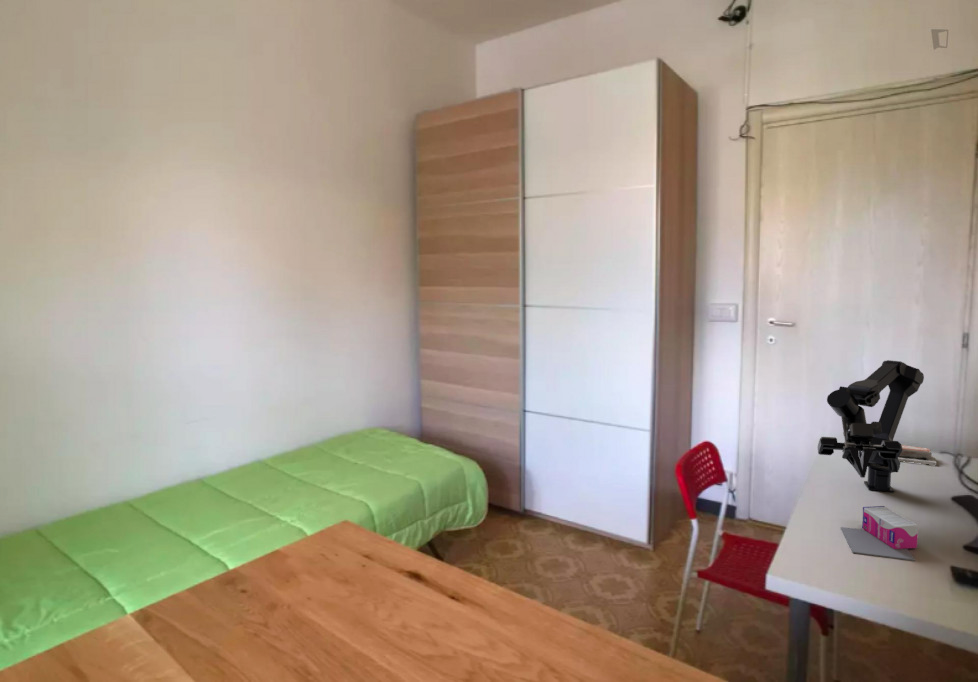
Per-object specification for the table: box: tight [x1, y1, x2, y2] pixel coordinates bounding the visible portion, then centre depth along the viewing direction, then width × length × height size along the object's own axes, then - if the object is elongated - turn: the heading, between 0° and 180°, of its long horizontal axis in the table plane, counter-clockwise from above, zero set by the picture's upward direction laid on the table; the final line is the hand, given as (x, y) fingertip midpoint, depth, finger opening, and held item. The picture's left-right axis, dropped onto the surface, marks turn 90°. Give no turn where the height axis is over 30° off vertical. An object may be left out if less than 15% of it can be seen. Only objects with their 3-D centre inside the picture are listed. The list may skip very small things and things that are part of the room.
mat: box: [840, 526, 916, 562], centre depth 138 cm, size 14×12×1 cm
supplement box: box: [861, 505, 919, 549], centre depth 139 cm, size 6×6×12 cm
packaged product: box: [898, 444, 937, 466], centre depth 198 cm, size 18×5×10 cm
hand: (863, 476), depth 151 cm, fingers closed
